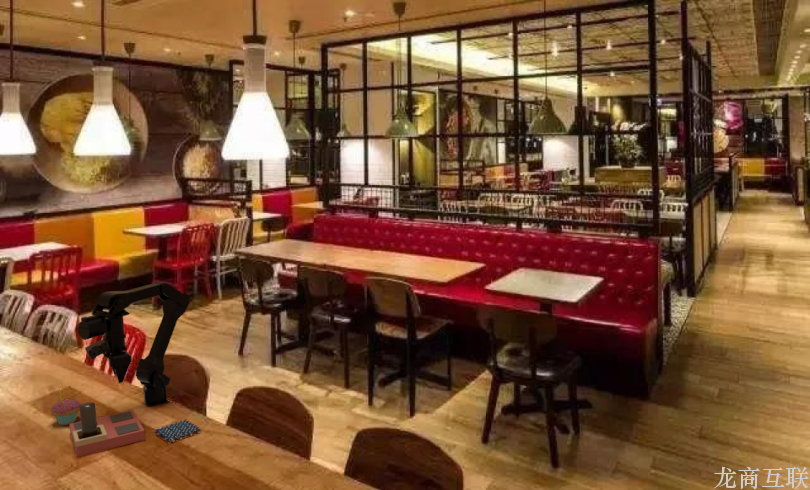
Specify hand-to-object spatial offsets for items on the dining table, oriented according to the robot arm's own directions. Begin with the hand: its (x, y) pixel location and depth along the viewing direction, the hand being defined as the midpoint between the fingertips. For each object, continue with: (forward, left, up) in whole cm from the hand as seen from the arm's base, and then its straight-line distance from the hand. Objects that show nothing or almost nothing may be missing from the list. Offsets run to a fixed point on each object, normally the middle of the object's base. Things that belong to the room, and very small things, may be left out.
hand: (118, 378), depth 195 cm
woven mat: (-12, +23, -14) cm, 29 cm away
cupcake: (+15, -6, -13) cm, 21 cm away
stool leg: (+11, +18, -13) cm, 25 cm away
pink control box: (+6, +13, -13) cm, 19 cm away
